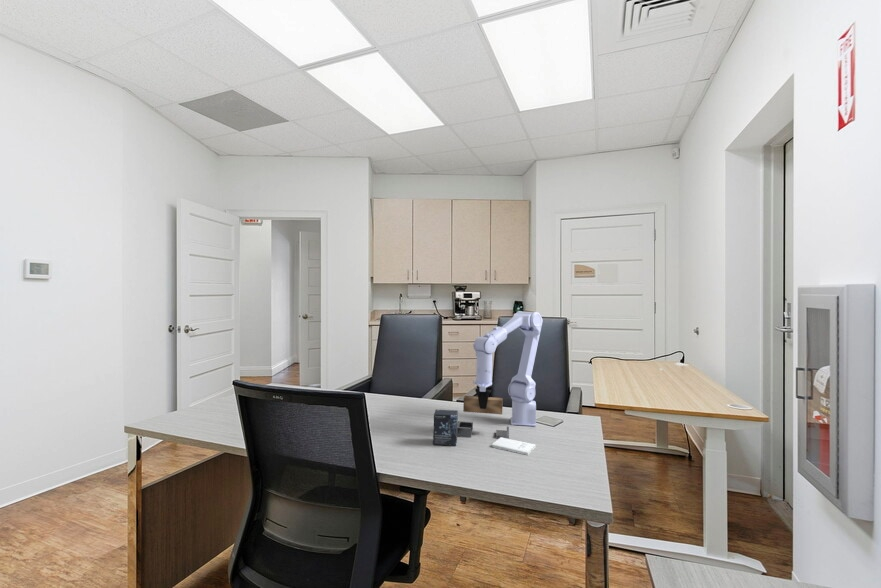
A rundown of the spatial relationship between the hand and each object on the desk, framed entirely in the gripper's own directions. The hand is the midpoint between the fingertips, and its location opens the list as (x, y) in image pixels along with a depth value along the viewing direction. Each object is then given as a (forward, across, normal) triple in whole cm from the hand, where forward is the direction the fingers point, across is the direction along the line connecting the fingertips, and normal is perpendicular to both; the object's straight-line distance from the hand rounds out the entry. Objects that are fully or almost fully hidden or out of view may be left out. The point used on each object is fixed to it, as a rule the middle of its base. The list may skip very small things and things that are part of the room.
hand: (483, 407), depth 151 cm
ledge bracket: (+10, +2, +7) cm, 12 cm away
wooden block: (+2, 0, 0) cm, 2 cm away
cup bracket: (+10, +2, -6) cm, 12 cm away
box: (+10, +13, -12) cm, 20 cm away
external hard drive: (+10, +12, +11) cm, 19 cm away
